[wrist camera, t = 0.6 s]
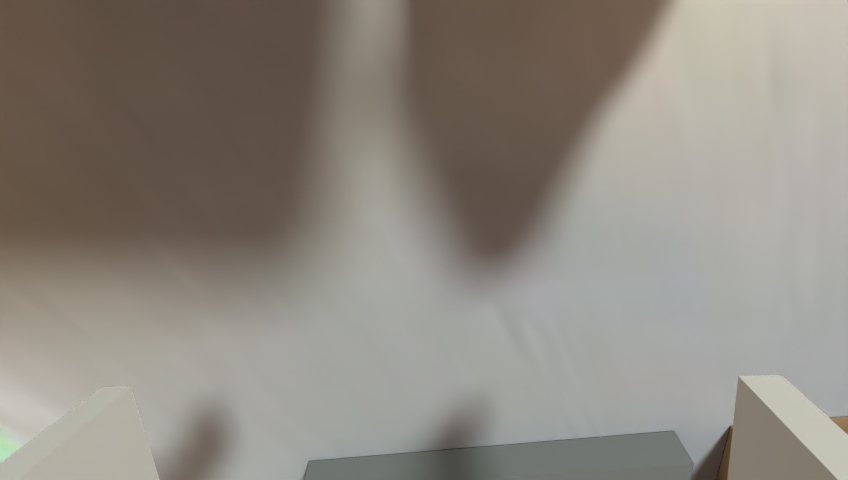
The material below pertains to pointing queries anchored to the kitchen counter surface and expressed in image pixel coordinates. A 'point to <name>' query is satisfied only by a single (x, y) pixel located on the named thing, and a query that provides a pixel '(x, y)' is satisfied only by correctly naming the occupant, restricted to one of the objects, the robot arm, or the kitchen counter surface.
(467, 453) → the gray block
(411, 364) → the kitchen counter surface
